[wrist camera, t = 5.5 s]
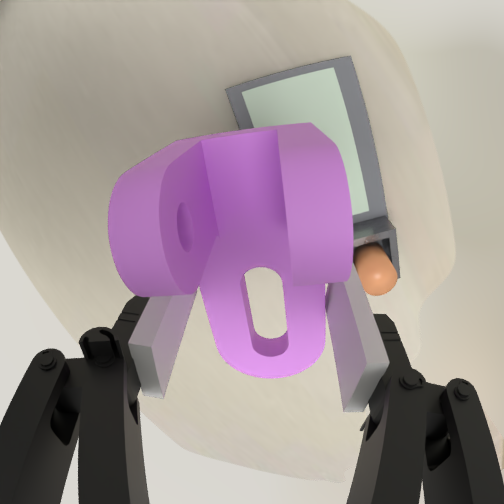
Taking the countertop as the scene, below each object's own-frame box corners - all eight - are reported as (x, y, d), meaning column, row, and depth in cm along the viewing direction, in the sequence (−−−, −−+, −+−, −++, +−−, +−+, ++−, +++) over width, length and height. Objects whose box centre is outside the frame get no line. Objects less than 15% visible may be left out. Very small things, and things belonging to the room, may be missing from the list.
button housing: (331, 229, 30) (337, 244, 27) (385, 215, 29) (395, 228, 26) (342, 275, 32) (347, 292, 30) (390, 261, 31) (400, 277, 29)
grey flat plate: (225, 89, 24) (225, 89, 24) (349, 56, 22) (350, 55, 22) (294, 287, 34) (294, 290, 34) (392, 261, 32) (393, 263, 31)
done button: (349, 246, 29) (360, 270, 25) (382, 237, 28) (396, 260, 24) (355, 274, 30) (364, 299, 27) (385, 265, 29) (398, 290, 26)
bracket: (176, 140, 13) (92, 194, 6) (311, 122, 12) (351, 158, 6) (229, 362, 19) (214, 464, 13) (322, 356, 18) (333, 461, 12)
